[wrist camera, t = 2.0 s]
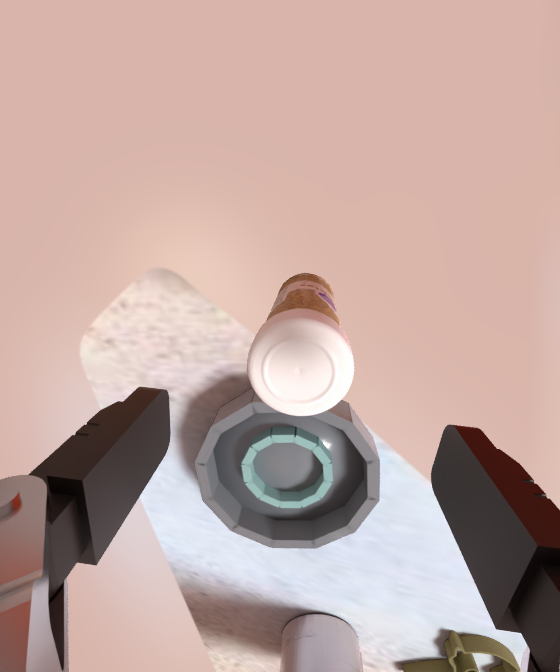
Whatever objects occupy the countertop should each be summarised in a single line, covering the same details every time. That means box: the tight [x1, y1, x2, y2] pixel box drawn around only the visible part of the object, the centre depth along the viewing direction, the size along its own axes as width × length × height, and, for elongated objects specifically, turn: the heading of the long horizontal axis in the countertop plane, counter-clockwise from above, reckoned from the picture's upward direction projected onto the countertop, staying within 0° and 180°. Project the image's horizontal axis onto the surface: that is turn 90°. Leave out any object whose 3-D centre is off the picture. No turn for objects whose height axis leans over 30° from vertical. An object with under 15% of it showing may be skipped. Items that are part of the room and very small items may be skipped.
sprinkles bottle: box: [247, 273, 354, 416], centre depth 20 cm, size 5×5×13 cm
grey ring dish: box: [194, 388, 380, 548], centre depth 30 cm, size 16×16×3 cm
